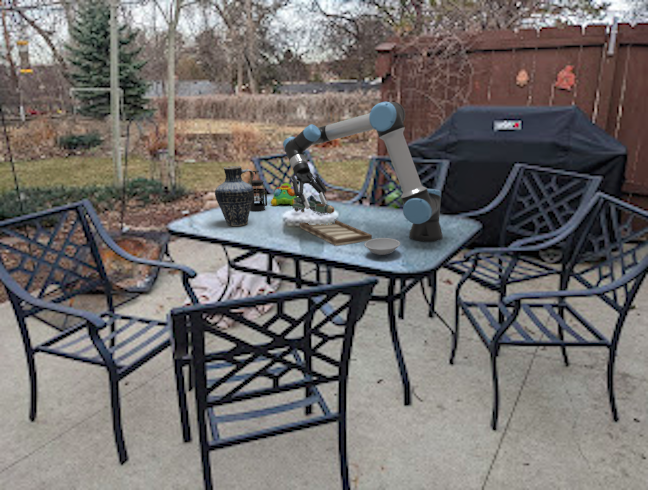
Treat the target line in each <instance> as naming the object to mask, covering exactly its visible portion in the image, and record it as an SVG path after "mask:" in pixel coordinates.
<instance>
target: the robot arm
mask: <svg viewBox="0 0 648 490" xmlns="http://www.w3.org/2000/svg"><path fill="white" fill-rule="evenodd" d="M405 119H406V111H405V108H404V107H403V105H402V104H400V103H399V102H396V101H381V102H379V103H376V104H375V105H374V106H373V107H372V108H371V109H370V112H369V113H367V114H362V115H359V116H355V117H351V118H348V119H345V120H341V121H338V122H334V123H329V124H326V125H322V126H319V127H318V126H316V125H315V124H312V123H311V124H308V125H307V126H306V127H305V128H304V129H303V130H302V131H301V132H300V133H298V134H297V136H289V137H288V138H285V139H284V140H283V142H282V146H283V149H284V153H286V154H285V155H286V156H287V159H288V161H289V164H290V167H291V168H292V171H293V173H294V175H291V178H290V182H291V183H292V187H293V188H294V193H295V196H296V197H297V196H298V197H299V198H300V199H301V201H302V203H303V202H304V205H305V209H306V210H309V209H310V208H309V206H310V205H309V202H308V200H307V198H308V197H307V195H306V193H304V187H305V186H304V185H305V184H308V185H309V186H311V187H312V188H313V189H314V190H315V192H317V193H318V198H319V201H320V202H321V204H325V201H326V199H327V197H326V195H325V193H326V192H327V190H328V189H327V188H326V186H325V184H324V183H323V182H322V180H321V178H320V175H319V174H318V173H316V174H314V173H312V172H311V168H310V166H309V164H308V161H307V159H306V156H305V155H304V152H305V151H306V150H307V149H308V148H309V147H311V146H312V145H319V144H325V143H327V142H330V141H334V140H338V139H341V138H346V137H349V136H353V135H357V134H362V133H365V132H369V131H372V130H373V131H374V130H375V131H376V133H377V135H378V138H379V139H380V140H382V141H383V142H384V145H385V147H386V150H387V153H388V156H389V158H390V161H391V163H392V166H393V169H394V172H395V174H396V177H397V179H398V183H399V186H400V188H401V191H402V195H401V196H400V198H401V201H402V204H403V207H402V213H403V216H404V218H405V219H406V220H407V222H409V223H412V226H411V227H410V230H409V232H408V233H409V238H410V239H411V240H414V241H419V242H431V243H432V242H438V241H441V240H442V239H443V232H442V228H441V224H440V218H441V217H440V215H441V214H440V213H441V202H442V201H441V199H442V192H441V190H439V189H435V188H427V187H425V186H423V184H422V183H421V179H420V177H419V174H418V171H417V168H416V165H415V163H414V161H413V157H412V155H411V154H412V153H411V152H410V149H409V146H408V144H407V140H406V138H405V137H406V136H404V131H405V128H406V127H405V124H404V122H405ZM297 181H298V182H299V185H298V182H297ZM326 204H327V205H328V203H327V201H326ZM308 208H309V209H308Z"/></svg>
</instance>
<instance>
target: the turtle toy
mask: <svg viewBox="0 0 648 490" xmlns="http://www.w3.org/2000/svg"><path fill="white" fill-rule="evenodd" d="M294 198H296V196H295V193H294V188H293V185H291V184H290V183H287V182H284V183H283V184H281V185H280V186H277V187H276V188H275V189H274V193H273V197H272V199H271V200H270V204H271V206H274V207H276V206H279V205H288V204H289V205H290V206H293V204H294V200H293V199H294Z"/></svg>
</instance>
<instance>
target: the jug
mask: <svg viewBox="0 0 648 490" xmlns="http://www.w3.org/2000/svg"><path fill="white" fill-rule="evenodd" d="M223 170H224V174H225V180H224V181H223V182H222V183H220V185H218V186H217V187H216V188H215V191H214V195H215V197H214V198H215V200H216V203H217V204H218V206H219V209H220V210H221V213H222V215H223V217H224V220H225V222H226V225H228V226H233V227H239V226H245V225H247V224H248V222H249V216H250V212H251V211H250V208H251V204H252V201H253V196H254V197H255V193H254V189H255V188H254V186H252V181H253V180H254V175H255V173H254V172H253V171H254V170H252V169H249V168H245V169H242V166H240V165H238V166H236V165H235V166H234V165H233V166H226V167H225V166H224V167H223ZM248 172H249V175H250V176H249V182H246V181H244V179H243V178H242V175H243V174H245V173H248Z"/></svg>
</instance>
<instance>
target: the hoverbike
mask: <svg viewBox="0 0 648 490" xmlns="http://www.w3.org/2000/svg"><path fill="white" fill-rule="evenodd" d="M306 198H307V200H308V202H309V205H310V206H309V208H308V209H307V210H309V209H310V210H311V211H312V212H313V213H315V214H316V215H318V216H320V217H322V216H325V215H327V214H333V213H334V212H335V207H334V206H333V205H329V203H328V200H326V199H325V200H326V201H325V204H322V202H321V200H316V199H317V198H315V197H314V196H313V195H312V194H311V195H309V196H308V197H306ZM293 200H294V204H293V205H292V209H293V211H294V212H297V213H298V212H299V211H300V212H301V213H305V211H306V210H305V209H306V207H305V205H304V202H303V203H302V201H301V199H300V198H299V196H298V197H296V198H294V199H293ZM326 202H327V204H326Z"/></svg>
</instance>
